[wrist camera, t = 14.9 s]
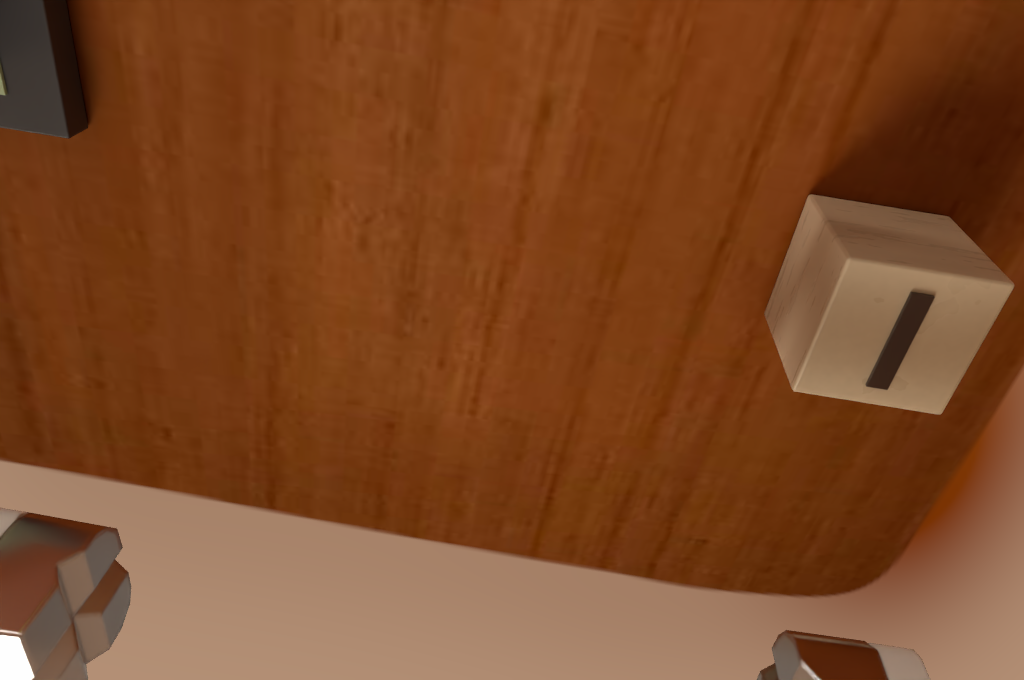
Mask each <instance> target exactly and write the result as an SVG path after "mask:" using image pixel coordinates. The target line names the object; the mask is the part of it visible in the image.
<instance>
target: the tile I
mask: <svg viewBox="0 0 1024 680" xmlns="http://www.w3.org/2000/svg"><path fill="white" fill-rule="evenodd" d="M1013 288H1014V283H1013V282H1012V281H1011V280H1010V279H1009V278H1008V277H1007V276H1006V275H1005V274H1004V273H1003V272H1002V271H1001V270H1000V269H999V268H998V267H997V266H996V265H995V264H994V262H993V261H992V260H991V259H990V258H989V257H988V256H987V255H986V254H985V253H984V252H983V251H982V250H981V249H980V248H979V247H978V246H977V245H976V244H975V243H974V242H973V241H972V240H971V239H970V238H969V237H968V236H967V235H966V233H965V232H964V231H963V230H962V229H961V228H960V227H959V226H958V225H957V224H956V223H955V222H954V221H953V220H952V219H951V218H950V217H948V216H943V215H936V214H930V213H924V212H918V211H912V210H905V209H899V208H893V207H887V206H881V205H874V204H868V203H862V202H856V201H850V200H843V199H837V198H831V197H825V196H819V195H812V194H811V195H809V196H808V198H807V200H806V203H805V206H804V209H803V211H802V214H801V217H800V219H799V222H798V225H797V227H796V230H795V233H794V235H793V238H792V241H791V243H790V246H789V249H788V252H787V254H786V257H785V260H784V262H783V265H782V268H781V270H780V273H779V276H778V278H777V281H776V284H775V287H774V289H773V292H772V295H771V297H770V300H769V303H768V305H767V308H766V311H765V317H766V320H767V323H768V325H769V328H770V331H771V333H772V336H773V339H774V342H775V344H776V347H777V350H778V352H779V355H780V358H781V361H782V363H783V366H784V369H785V371H786V374H787V377H788V380H789V382H790V385H791V388H792V390H793V391H796V392H802V393H808V394H814V395H820V396H827V397H833V398H839V399H845V400H851V401H858V402H864V403H870V404H876V405H882V406H889V407H895V408H901V409H907V410H913V411H920V412H926V413H932V414H938V415H939V414H942V412H943V411H944V409H945V407H946V405H947V404H948V402H949V400H950V398H951V397H952V395H953V393H954V391H955V390H956V388H957V386H958V384H959V383H960V381H961V379H962V377H963V376H964V374H965V372H966V370H967V369H968V367H969V365H970V363H971V362H972V360H973V358H974V356H975V355H976V353H977V351H978V349H979V348H980V346H981V344H982V342H983V341H984V339H985V337H986V335H987V334H988V332H989V330H990V328H991V327H992V325H993V323H994V321H995V320H996V318H997V316H998V314H999V313H1000V311H1001V309H1002V307H1003V306H1004V304H1005V302H1006V300H1007V299H1008V297H1009V295H1010V293H1011V292H1012V290H1013Z"/></svg>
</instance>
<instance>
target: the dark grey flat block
mask: <svg viewBox="0 0 1024 680" xmlns="http://www.w3.org/2000/svg"><path fill="white" fill-rule="evenodd" d="M0 127H1V128H8V129H14V130H20V131H26V132H32V133H39V134H45V135H51V136H57V137H63V138H71V137H72V136H74V135H76V134H78V133H80V132H81V131H83V130H85V129H87V128H88V123H87V117H86V112H85V106H84V100H83V95H82V89H81V83H80V78H79V72H78V66H77V60H76V55H75V49H74V43H73V38H72V32H71V26H70V21H69V15H68V9H67V3H66V0H0Z"/></svg>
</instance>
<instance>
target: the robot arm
mask: <svg viewBox="0 0 1024 680" xmlns="http://www.w3.org/2000/svg"><path fill="white" fill-rule="evenodd" d="M121 549H122V544H121V540H120V537H119V533H118V530H117V529H116V528H111V527H105V526H100V525H94V524H89V523H83V522H77V521H72V520H67V519H61V518H55V517H50V516H44V515H40V514H34V513H28V512H22V511H16V510H10V509H4V508H0V680H88V675H87V667H86V664H87V663H88V662H90V661H92V660H93V659H95V658H96V657H98V656H99V655H101V654H103V653H104V652H106V651H107V650H109V649H110V647H111V645H112V644H113V642H114V640H115V639H116V637H117V635H118V633H119V632H120V630H121V628H122V626H123V622H124V620H125V617H126V614H127V610H128V608H129V605H130V595H131V584H130V578H129V574H128V572H127V571H126V570H125V569H124V568H123V567H122V566H121V565H120V564H119V563H118V562H117V561H116V560H115V558H116V557H117V555H118V554H119V552H120V550H121ZM772 651H773V656H774V660H775V663H774V664H773V665H771V666H769V667H767V668H765V669H763V670H761V671H760V674H759V676H758V678H757V680H930V678H929V675H928V673H927V671H926V668H925V666H924V663H923V661H922V659H921V658H920V656H919V655H918V654H917V653H916V652H915V651H914V650H912V649H907V648H900V647H894V646H886V645H880V644H873V643H867V642H865V641H860V640H853V639H846V638H839V637H831V636H824V635H817V634H810V633H803V632H796V631H789V630H786V631H784V632H783V633H781V634H780V635H778V637H777V639H776V641H775V643H774V645H773V647H772Z"/></svg>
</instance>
